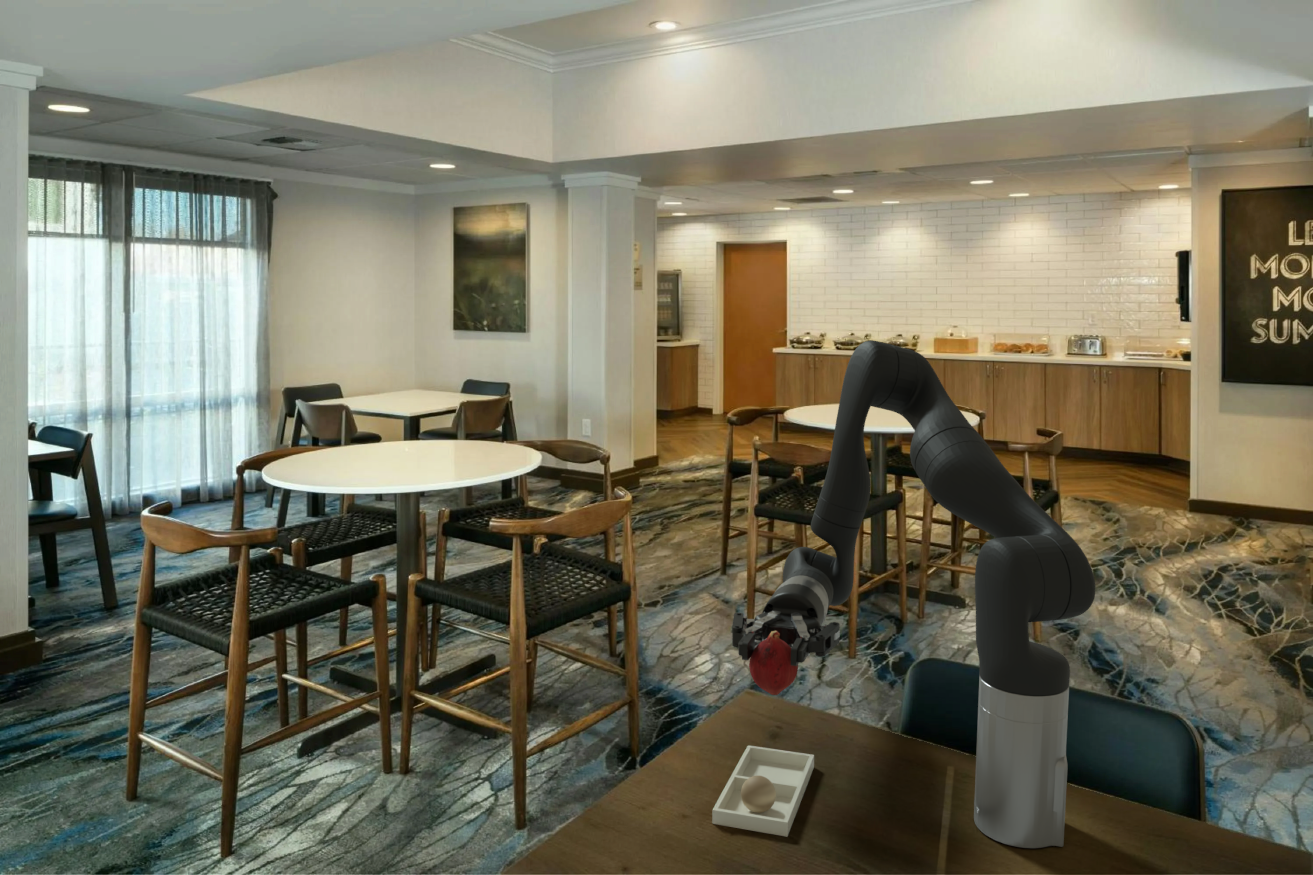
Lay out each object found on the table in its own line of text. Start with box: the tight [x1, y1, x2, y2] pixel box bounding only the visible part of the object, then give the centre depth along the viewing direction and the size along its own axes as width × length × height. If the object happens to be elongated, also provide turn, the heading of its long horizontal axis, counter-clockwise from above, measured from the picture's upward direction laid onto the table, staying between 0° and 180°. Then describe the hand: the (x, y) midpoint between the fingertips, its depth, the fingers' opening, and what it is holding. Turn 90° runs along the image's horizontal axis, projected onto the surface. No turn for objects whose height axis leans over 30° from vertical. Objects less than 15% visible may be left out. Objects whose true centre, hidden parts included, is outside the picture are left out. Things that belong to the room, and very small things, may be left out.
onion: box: [748, 631, 799, 696], centre depth 115 cm, size 6×6×8 cm
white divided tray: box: [711, 744, 815, 838], centre depth 113 cm, size 8×16×2 cm, turn 161°
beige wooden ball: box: [741, 776, 776, 813], centre depth 109 cm, size 4×4×4 cm
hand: (769, 654), depth 112 cm, fingers closed on onion, 5 cm apart
